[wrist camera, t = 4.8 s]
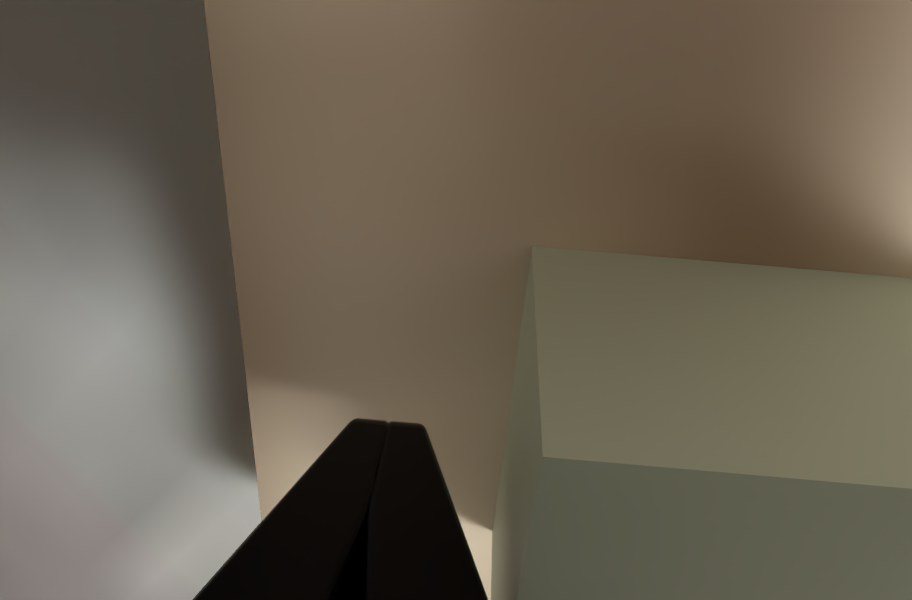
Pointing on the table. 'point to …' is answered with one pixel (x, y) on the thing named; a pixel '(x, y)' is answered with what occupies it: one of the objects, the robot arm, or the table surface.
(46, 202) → the table surface
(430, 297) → the birch board
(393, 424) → the robot arm
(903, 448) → the sage block
